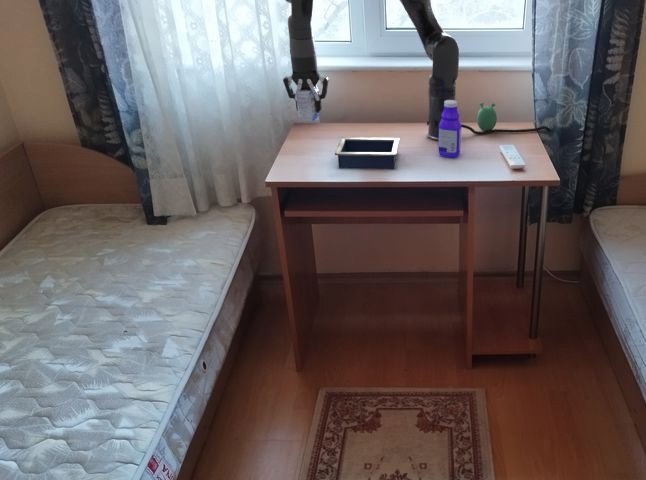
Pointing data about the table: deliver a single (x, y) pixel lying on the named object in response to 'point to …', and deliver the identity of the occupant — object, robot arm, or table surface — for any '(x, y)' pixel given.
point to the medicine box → (306, 105)
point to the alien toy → (486, 117)
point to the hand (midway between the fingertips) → (309, 111)
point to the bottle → (449, 131)
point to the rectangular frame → (367, 153)
